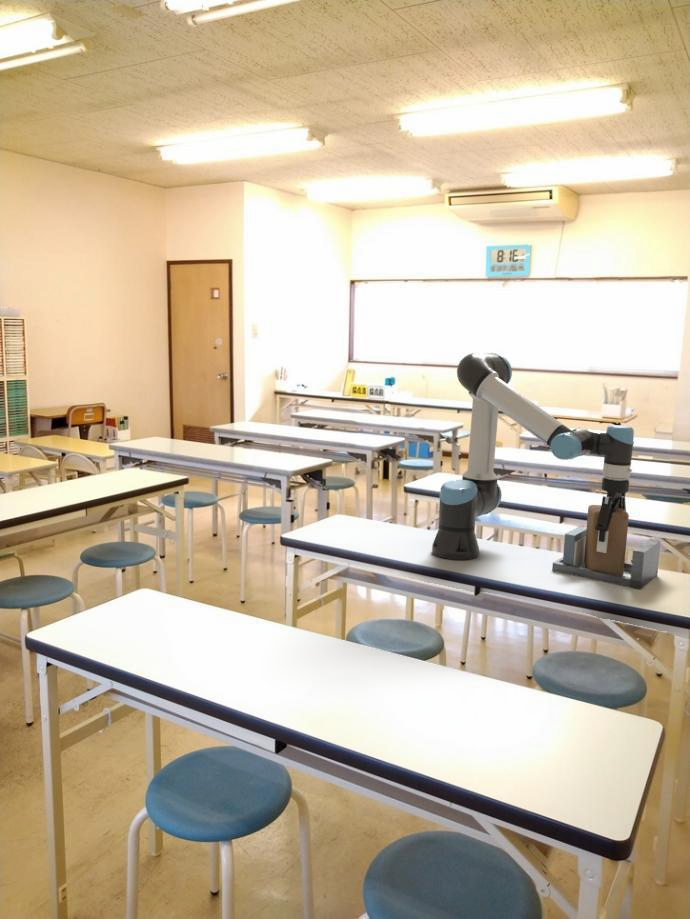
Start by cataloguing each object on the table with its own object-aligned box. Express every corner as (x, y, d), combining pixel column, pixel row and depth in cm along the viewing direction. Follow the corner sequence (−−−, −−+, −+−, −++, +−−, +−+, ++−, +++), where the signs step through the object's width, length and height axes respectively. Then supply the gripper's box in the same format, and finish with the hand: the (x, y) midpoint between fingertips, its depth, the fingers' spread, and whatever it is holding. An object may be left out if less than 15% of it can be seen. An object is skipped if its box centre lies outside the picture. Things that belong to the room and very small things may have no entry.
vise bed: (552, 570, 219) (554, 535, 217) (572, 558, 232) (575, 525, 230) (640, 589, 203) (644, 552, 201) (657, 575, 216) (660, 540, 215)
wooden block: (624, 579, 212) (629, 513, 209) (588, 576, 214) (594, 511, 211) (616, 568, 222) (621, 505, 219) (582, 566, 224) (587, 503, 220)
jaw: (562, 568, 220) (565, 533, 218) (575, 560, 229) (578, 527, 227) (573, 571, 218) (576, 535, 216) (586, 563, 226) (589, 529, 225)
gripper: (615, 485, 200) (607, 558, 204) (641, 474, 220) (634, 541, 223) (588, 481, 205) (581, 553, 208) (616, 470, 224) (610, 536, 228)
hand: (609, 547), depth 216 cm, fingers open, 13 cm apart
